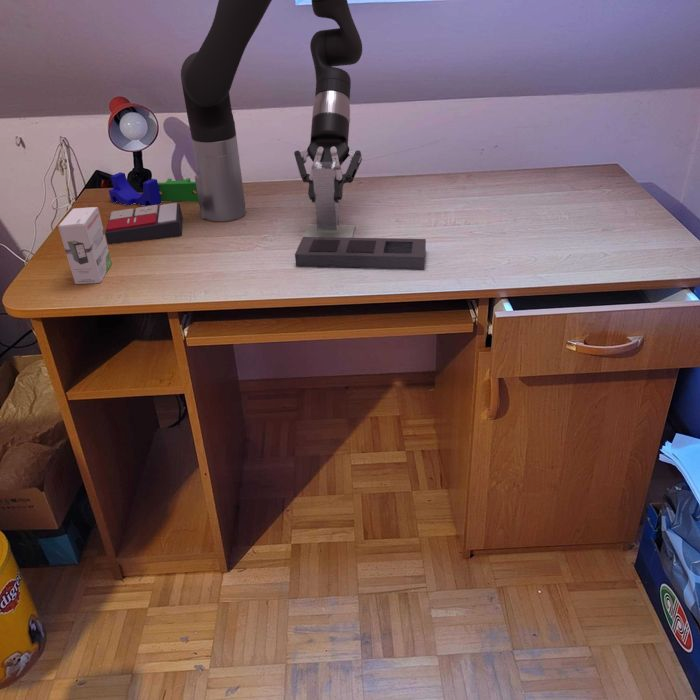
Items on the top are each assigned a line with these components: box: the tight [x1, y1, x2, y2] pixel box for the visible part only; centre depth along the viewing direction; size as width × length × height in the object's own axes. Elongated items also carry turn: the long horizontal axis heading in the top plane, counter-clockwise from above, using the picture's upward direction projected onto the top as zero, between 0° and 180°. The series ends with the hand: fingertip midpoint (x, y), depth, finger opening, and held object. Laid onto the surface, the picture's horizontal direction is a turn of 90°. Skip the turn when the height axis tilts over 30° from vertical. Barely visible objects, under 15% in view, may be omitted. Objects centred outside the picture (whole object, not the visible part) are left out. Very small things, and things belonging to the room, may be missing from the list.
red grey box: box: [104, 202, 184, 245], centre depth 143 cm, size 11×4×15 cm
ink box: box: [57, 206, 113, 285], centre depth 124 cm, size 9×5×12 cm, turn 2°
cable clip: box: [108, 171, 163, 207], centre depth 156 cm, size 12×4×6 cm, turn 59°
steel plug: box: [311, 162, 341, 232], centre depth 133 cm, size 4×4×13 cm
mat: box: [302, 224, 356, 238], centre depth 137 cm, size 10×10×1 cm
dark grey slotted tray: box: [294, 236, 427, 270], centre depth 127 cm, size 24×8×3 cm, turn 83°
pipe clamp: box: [158, 177, 199, 202], centre depth 158 cm, size 11×4×5 cm, turn 88°
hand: (325, 200), depth 131 cm, fingers closed on steel plug, 4 cm apart
